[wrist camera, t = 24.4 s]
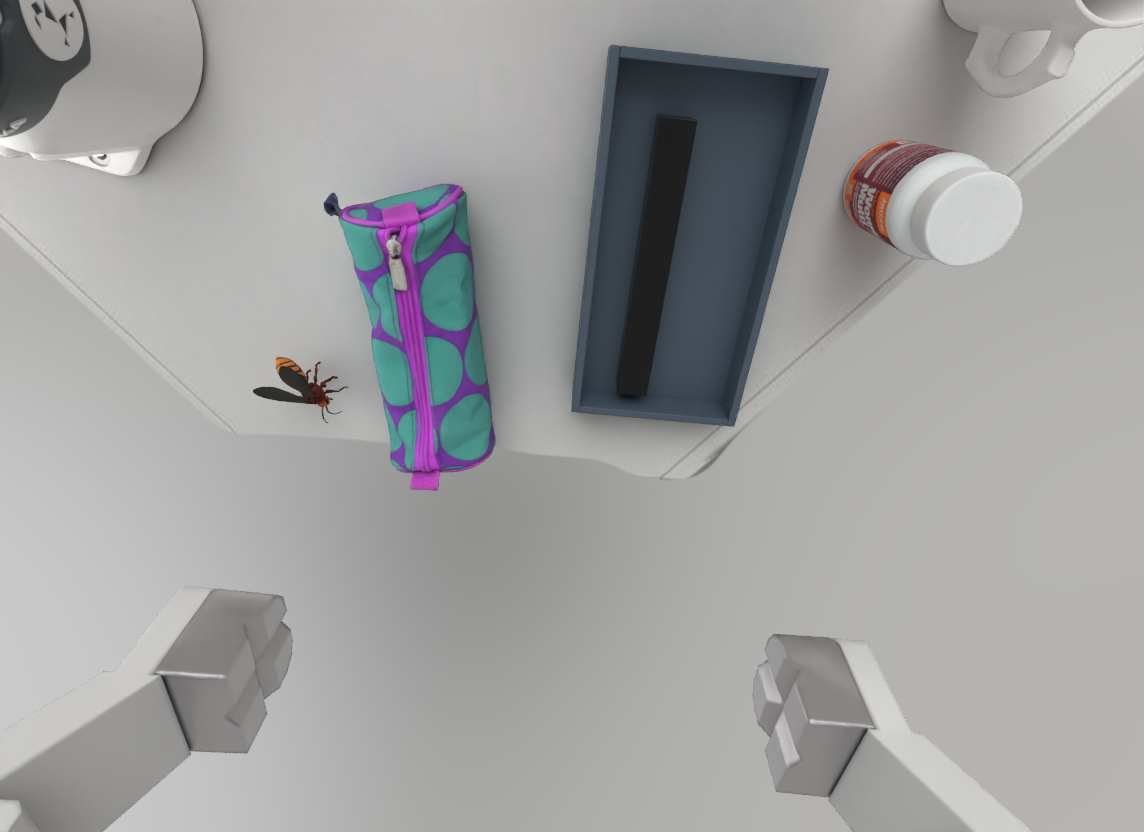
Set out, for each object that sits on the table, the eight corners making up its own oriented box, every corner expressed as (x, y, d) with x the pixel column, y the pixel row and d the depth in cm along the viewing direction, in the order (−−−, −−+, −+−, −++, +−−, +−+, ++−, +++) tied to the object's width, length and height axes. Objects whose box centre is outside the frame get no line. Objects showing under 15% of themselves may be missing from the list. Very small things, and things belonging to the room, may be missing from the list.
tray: (572, 390, 52) (571, 412, 49) (608, 46, 39) (610, 44, 36) (725, 404, 52) (734, 427, 49) (809, 68, 40) (829, 68, 36)
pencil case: (354, 180, 44) (299, 207, 35) (476, 175, 43) (449, 201, 35) (406, 428, 54) (373, 493, 46) (505, 425, 54) (490, 490, 45)
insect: (329, 399, 54) (317, 436, 50) (268, 355, 50) (250, 392, 46) (359, 375, 52) (349, 411, 48) (298, 328, 49) (282, 363, 45)
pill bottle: (824, 181, 43) (893, 216, 33) (905, 117, 41) (1005, 134, 31) (867, 247, 45) (943, 297, 36) (946, 190, 43) (1051, 226, 33)
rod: (615, 380, 50) (616, 393, 48) (656, 113, 40) (660, 115, 38) (643, 383, 51) (646, 396, 48) (692, 117, 41) (697, 120, 38)
